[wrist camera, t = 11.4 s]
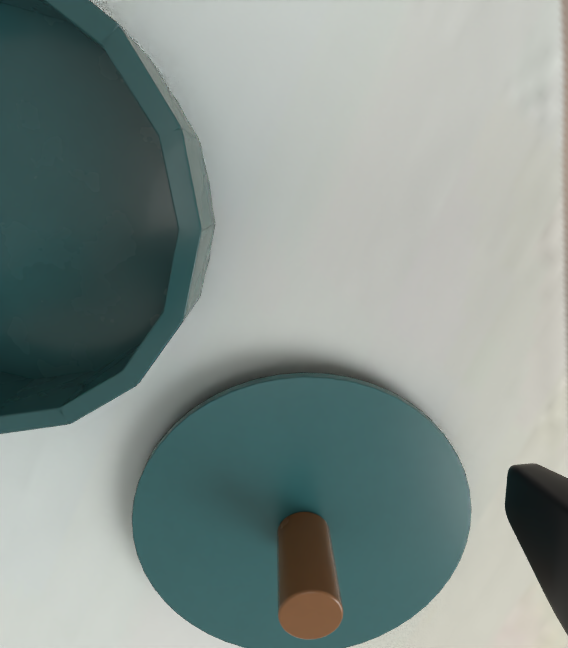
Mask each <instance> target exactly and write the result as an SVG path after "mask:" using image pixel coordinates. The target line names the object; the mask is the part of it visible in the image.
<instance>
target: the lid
mask: <svg viewBox="0 0 568 648" xmlns="http://www.w3.org/2000/svg"><path fill="white" fill-rule="evenodd" d="M470 521H471V500H470V490H469V486H468V482H467V478H466V474H465V471H464V469H463V467H462V464H461V462H460V460H459V458H458V455H457V454H456V452H455V451H454V449H453V448H452V446H451V444H450V443H449V441H448V440H447V438H446V437H445V436H444V434H443V433H442V432H441V431H440V429H439V428H438V427H437V426H436V425H435V424H434V423H433V422H432V421H431V419H430V418H429V417H427V416H426V415H425V414H424V413H422V412H421V411H420V410H419V409H418V408H416V407H415V406H414V405H413V404H411V403H409V402H408V401H406V400H405V399H403V398H401V397H400V396H398V395H396V394H395V393H393V392H390V391H388V390H386V389H384V388H381V387H379V386H377V385H375V384H372V383H368V382H365V381H362V380H358V379H355V378H351V377H346V376H340V375H333V374H327V373H291V374H279V375H274V376H269V377H264V378H259V379H254V380H251V381H248V382H245V383H242V384H239V385H236V386H234V387H231V388H229V389H227V390H225V391H223V392H221V393H218V394H216V395H214V396H212V397H210V398H209V399H207V400H206V401H204V402H203V403H201V404H199V405H198V406H196V407H195V408H193V409H192V410H190V411H189V412H188V413H187V414H186V415H185V416H184V417H182V418H181V419H180V420H179V421H178V422H177V423H175V424H174V425H173V427H172V428H171V429H170V430H169V431H168V432H167V433H166V435H165V436H164V437H163V438H162V439H161V440H160V442H159V443H158V445H157V446H156V448H155V450H154V451H153V453H152V454H151V456H150V457H149V459H148V461H147V464H146V466H145V468H144V470H143V473H142V475H141V477H140V479H139V482H138V486H137V489H136V493H135V497H134V503H133V513H132V527H133V538H134V543H135V547H136V551H137V555H138V558H139V560H140V563H141V565H142V568H143V570H144V572H145V574H146V576H147V577H148V579H149V581H150V583H151V584H152V586H153V587H154V589H155V590H156V591H157V592H158V594H159V595H160V596H161V598H162V599H163V600H164V601H165V602H166V603H167V604H168V605H169V606H170V607H171V608H172V609H173V610H174V611H175V612H176V613H177V614H179V615H180V616H181V617H183V618H184V619H185V620H187V621H188V622H189V623H191V624H192V625H194V626H195V627H197V628H199V629H201V630H202V631H204V632H206V633H207V634H209V635H212V636H214V637H216V638H219V639H221V640H223V641H225V642H228V643H231V644H235V645H238V646H241V647H244V648H346V647H350V646H354V645H357V644H361V643H363V642H366V641H368V640H371V639H374V638H376V637H379V636H381V635H383V634H385V633H387V632H389V631H391V630H392V629H394V628H396V627H398V626H399V625H401V624H402V623H404V622H406V621H407V620H409V619H410V618H412V617H413V616H414V615H415V614H417V613H418V612H419V611H420V610H422V609H423V608H424V607H425V606H426V605H427V604H428V603H429V602H430V601H431V600H432V599H433V598H434V597H435V596H436V595H437V594H438V593H439V592H440V591H441V589H442V588H443V587H444V585H445V584H446V583H447V581H448V580H449V579H450V577H451V576H452V574H453V572H454V570H455V569H456V567H457V565H458V563H459V561H460V559H461V556H462V554H463V551H464V549H465V546H466V543H467V539H468V534H469V530H470Z"/></svg>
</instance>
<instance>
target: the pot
mask: <svg viewBox="0 0 568 648" xmlns="http://www.w3.org/2000/svg"><path fill="white" fill-rule="evenodd" d="M214 228H215V219H214V214H213V208H212V200H211V192H210V184H209V180H208V176H207V172H206V168H205V164H204V159H203V154H202V149H201V143H200V142H199V138H198V137H197V135H196V133H195V132H194V130H193V128H192V127H191V125H190V123H189V122H188V120H187V118H186V117H185V115H184V113H183V111H182V109H181V107H180V105H179V103H178V102H177V100H176V99H175V98H174V96H173V95H172V93H171V92H170V90H169V88H168V87H167V85H166V83H165V82H164V80H163V78H162V77H161V75H160V73H159V72H158V70H157V68H156V67H155V65H154V63H153V62H152V61H151V59H150V58H149V57H148V56H147V55H146V54H145V53H144V52H143V51H142V50H141V48H140V47H139V46H138V45H137V44H136V43H135V42H134V41H133V40H132V39H131V37H130V36H129V35H128V34H127V33H126V32H125V31H124V30H123V29H122V27H121V26H120V25H119V24H118V23H117V22H115V21H114V20H113V19H112V18H110V17H109V16H108V15H107V14H105V13H104V12H103V11H102V10H101V9H99V8H98V7H97V6H96V5H94V4H93V3H92V2H91V1H89V0H0V434H3V433H11V432H18V431H25V430H32V429H39V428H46V427H53V426H61V425H67V424H71V423H73V422H75V421H77V420H78V419H80V418H82V417H83V416H85V415H87V414H89V413H90V412H92V411H94V410H96V409H97V408H99V407H101V406H102V405H104V404H106V403H108V402H109V401H111V400H113V399H115V398H116V397H118V396H120V395H121V394H123V393H125V392H127V391H128V390H130V389H132V388H133V387H135V386H137V384H138V383H140V381H141V380H142V378H143V377H144V376H145V374H146V373H147V371H148V370H149V369H150V367H151V366H152V364H153V363H154V362H155V360H156V359H157V357H158V356H159V355H160V353H161V352H162V350H163V349H164V348H165V346H166V345H167V343H168V342H169V341H170V339H171V338H172V336H173V335H174V334H175V332H176V331H177V329H178V328H179V327H180V325H181V324H182V322H183V321H184V319H185V318H186V317H187V315H188V314H189V312H190V311H191V309H192V308H193V307H194V305H195V304H196V302H197V301H198V299H199V297H200V296H201V291H202V286H203V282H204V277H205V273H206V269H207V266H208V262H209V257H210V250H211V243H212V238H213V233H214Z"/></svg>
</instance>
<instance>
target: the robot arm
mask: <svg viewBox="0 0 568 648" xmlns="http://www.w3.org/2000/svg"><path fill="white" fill-rule="evenodd" d="M505 511H506V515H507V518H508V520H509V523H510V525H511V527H512V529H513V531H514V533H515V535H516V537H517V539H518V541H519V543H520V545H521V547H522V549H523V551H524V553H525V555H526V557H527V559H528V561H529V563H530V565H531V567H532V569H533V571H534V573H535V575H536V577H537V579H538V581H539V583H540V585H541V587H542V589H543V592H544V594H545V596H546V598H547V599H548V601H549V603H550V605H551V607H552V609H553V611H554V613H555V615H556V616H557V618H558V620H559V621H560V623H561V625H562V627H563V628H564V630H565V632H566V633H567V635H568V478H566V477H564V476H562V475H560V474H557V473H555V472H553V471H551V470H549V469H547V468H545V467H542V466H540V465H538V464H533V463H531V464H520V465H513V466H511V467H510V468H509V470H508V475H507V486H506V498H505Z"/></svg>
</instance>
